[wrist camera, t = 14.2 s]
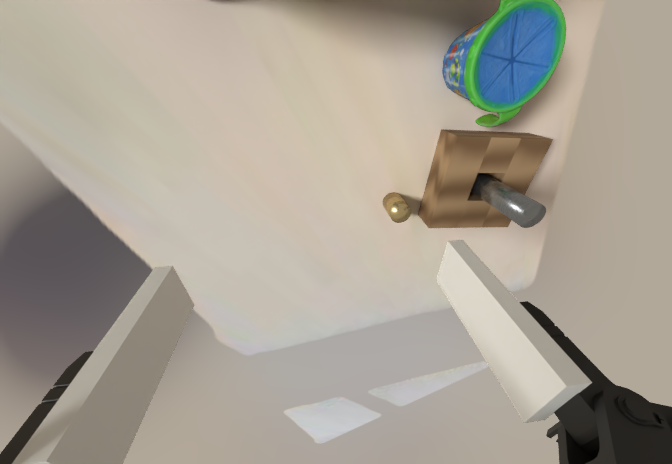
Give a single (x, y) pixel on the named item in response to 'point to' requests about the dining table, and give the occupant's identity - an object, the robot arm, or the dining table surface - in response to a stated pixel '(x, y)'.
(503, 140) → the hole block
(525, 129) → the dining table surface
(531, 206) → the long steel pin
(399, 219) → the short brass pin
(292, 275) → the dining table surface
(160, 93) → the dining table surface
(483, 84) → the snack cup
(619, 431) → the robot arm
